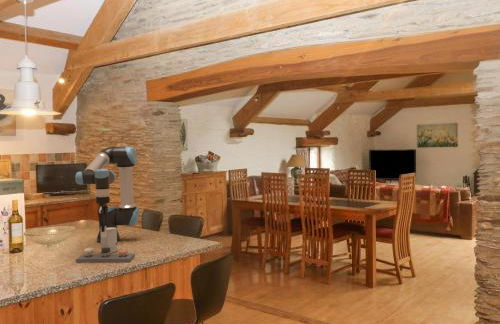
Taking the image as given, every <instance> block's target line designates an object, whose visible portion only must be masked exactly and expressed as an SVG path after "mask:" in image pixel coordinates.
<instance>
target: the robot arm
mask: <svg viewBox="0 0 500 324" xmlns="http://www.w3.org/2000/svg"><path fill="white" fill-rule="evenodd" d="M137 155H138V154H137V151H136V149H135V147H133V146H123V145H122V146H108V147H106V148H103V149H102V150H100V151H99V152H98V153H96V154H95V156H94V159H93V160H92V161H91V162H90V164H89V165H88V166H87V167H86V168H85V169H84V170H83V171H77V172H76V173H75V176H74V179H75V183H76V185H95V190H94V193H95V196H96V197H95V203H96V204H98V209H97V214H98V226H99V227H98V229H99V231H98V234H97V237H96V242H97V243H100V244H101V237H107V235H106V228H110V227H111V228H117V242H119V241H121V236H120V234H119V230H118V226H136V225H137V224H138V222H139V218H140V208H139V207H137V204H135V201H134V199H135V197H134V179H133V177H134V175H133V168H134V167H135V165H136V164H137V162H138V156H137ZM108 165H116V168H117V169H118V172H119V173H118V174H119V193H120V195H119V196H120V204H119V205H118V208H117V206H116V205H114V206H113V205H112V206H111V205H110V206H108V205H107V204H109V203H110V201H111V200H110V198H111V197H110V185H111V184H113V183H115V181H116V179H117V178H116V177H117V176H116V174H115V172H113V171H112V170H109V169H106V168H104V167H105V166H108ZM100 229H101V230H100Z"/></svg>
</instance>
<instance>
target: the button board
mask: <svg viewBox="0 0 500 324" xmlns="http://www.w3.org/2000/svg"><path fill="white" fill-rule="evenodd" d="M135 258H136V254H135V252H134V253H133V252H132V253H130V252H129V253H128V254H126V257H121V255H120V254H119V253H109V254H108V257H104V253H91V257H86V253H83V254H82V255H79V256H78V257H77V258H76V259H75V263H81V264H82V262H90V263H130V262H131V261H132V260H133V259H135Z"/></svg>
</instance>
